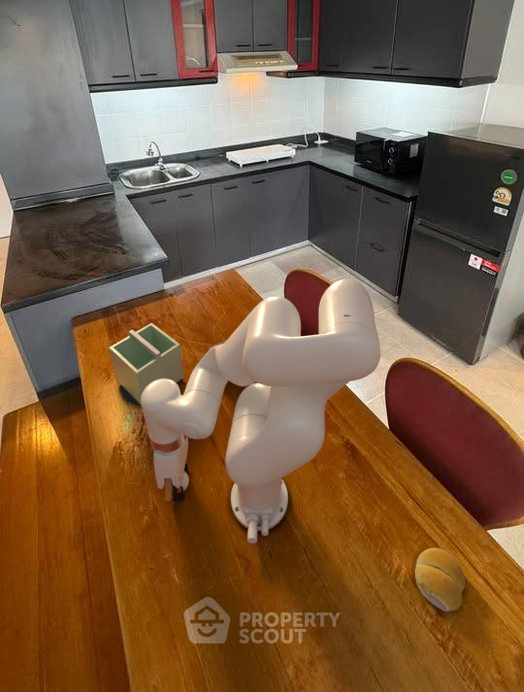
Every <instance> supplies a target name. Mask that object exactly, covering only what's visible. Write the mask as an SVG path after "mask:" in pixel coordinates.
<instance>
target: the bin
mask: <svg viewBox="0 0 524 692" xmlns="http://www.w3.org/2000/svg"><path fill="white" fill-rule="evenodd" d="M128 334H129V335H128V336H126V337H125V338H123V339H121V340H119V341H118V342H116V343H115V344H113V345H111V346H109V348H108V349H109V352H110V358H111V362H112V366H113V371H114V376H115V379H116V381H117V383H119V384H120V386H121V385H122V386H123V387H124V388H125V389H126V390H127V391H128V392H129V393H130V394H131V395H132V396H133V397H134V398H135V399H136V400H137V401H138V402H139V403H140V404H141V396H142V393H143V391H144V389H145V388H146V387H147V386H148V385H149V384H150V383H152V382H153V381H156V380H158V379H170V380H172V381H174V382H175V383H177V382H178V381H179V380H180V381H181V380H182V379H184V378H185V375H184V374H185V373H184V366H183V357H182V350H181V349H182V348H181V344H180V342H177V341H176V340H175V339H174V338H173V337H171V336H170V335H168V334H167V333H166V332H164V331H163V330H162V329H160V328H159V327H158V326H156V325H155V324H154V323H153V322H151V323H149V324H147V325H146V326H143V327H142V328H140V329H139V330H137V331H135V330H134V329H131V330H129V331H128ZM180 381H179V382H180Z"/></svg>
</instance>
